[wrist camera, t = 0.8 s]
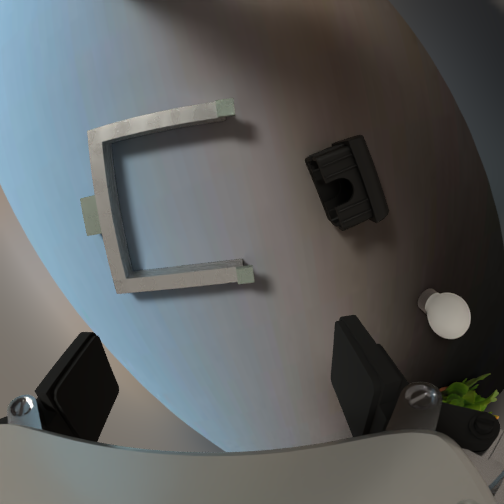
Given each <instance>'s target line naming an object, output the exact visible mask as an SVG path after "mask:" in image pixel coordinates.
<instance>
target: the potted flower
mask: <svg viewBox="0 0 504 504" xmlns="http://www.w3.org/2000/svg"><path fill="white" fill-rule="evenodd" d="M490 374H491V373H490ZM490 374H485V375H482V376H480V377H478V378H476V379H471V380H469V381H467V382H465V381H466V380H467V378H466V379H465V380H464V381H463V382H462V383H460V382H455V383H452V384H451V385H449V386H448V387H442V388H440V389H439V390H440V392H441V394H442V402H444V403H448V404H452V405H456V406H461V407H465V408H469V409H474V410H479V411H484V409H485V408H486V406H487V404H489V403H490V402H495V401H496V400H497V399H496V398H494V397H496V396H497V395H498V394H499V392H497V390H496V391H495V392H494V393H493V394H492V395H491V396H490V397H488V398H487V399H485V398H482V397H481V396H480V395H477V393H475V391H471V390H474V389H475V388H477V386H478V385H479V384H477V385H476V386H474V387H472V388H471V389H469V387H471V386H473V384H474V383H476V381H478V380H482V379H484V378H485V377H487V375H490ZM468 389H469V390H468ZM476 395H477V396H476ZM480 397H481V398H480ZM489 413H490V414H491V413H492V412H489ZM493 416H495V417H496V419H498V418H499V416H496V415H493Z"/></svg>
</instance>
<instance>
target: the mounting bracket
mask: <svg viewBox="0 0 504 504" xmlns="http://www.w3.org/2000/svg"><path fill="white" fill-rule="evenodd" d="M215 101H216V102H212V103H205V104H199V105H193V106H187V107H181V108H176V109H171V110H166V111H161V112H156V113H152V114H147V115H143V116H139V117H135V118H131V119H127V120H123V121H119V122H116V123H112V124H109V125H105V126H102V127H99V128H95V129H92V130H89V131H87V132H88V144H89V154H90V163H91V171H92V179H93V186H94V192H95V195H93V196H89V197H85V198H81V199H80V201H81V207H82V212H83V218H84V223H85V228H86V233H87V236H89V235H95V234H101V233H102V236H103V241H104V245H105V249H106V254H107V258H108V262H109V266H110V270H111V274H112V278H113V281H114V285H115V289H116V292H117V294H122V293H133V292H144V291H155V290H165V289H176V288H186V287H195V286H205V285H214V284H223V283H232V282H238V284H245V283H253V282H254V274H253V266H252V265H247V266H243V260H242V259H234V260H225V261H217V262H208V263H199V264H191V265H182V266H174V267H165V268H156V269H147V270H139V271H133V268H132V264H131V260H130V255H129V251H128V246H127V241H126V236H125V231H124V226H123V221H122V216H121V210H120V204H119V198H118V192H117V185H116V178H115V171H114V163H113V154H112V145H111V143H114V142H118V141H122V140H126V139H130V138H134V137H138V136H143V135H147V134H152V133H156V132H161V131H166V130H171V129H177V128H182V127H188V126H194V125H200V124H207V123H214V122H221V121H226V119H225V117H229V116H235V110H234V101H233V98H231V99H223V100H215Z"/></svg>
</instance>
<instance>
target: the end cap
mask: <svg viewBox="0 0 504 504" xmlns="http://www.w3.org/2000/svg"><path fill="white" fill-rule="evenodd" d="M331 145H332V147H330V148H327V149H324V150H322V151H319V152H317V153H314V154H312V155H309V157H307V158H306V159H305V163H306V165H307V167H308V170H309V172H310V175H311V177H312V180H313V182H314V184H315V187H316V189H317V192H318V194H319V197H320V200H321V202H322V205H323V207H324V210H325V212H326V215H327V218H328V219H329V220H330V221H331V222H332V224H333V225H334V226H339V229H341V230H342V231H344V230H346V229H348V228H351V227H353V226H355V225H357V224H359V223H362V222H364V221H366V220H368V219H369V220H371V221H373V222H375V223H377V222H379V221H381V220H382V219H384V218H385V217H386V216H387V215H388V213H389V210H388V206H387V203H386V199H385V196H384V193H383V190H382V187H381V184H380V181H379V178H378V175H377V172H376V169H375V166H374V163H373V161H372V158H371V155H370V153H369V150H368V147H367V145H366V142H365V140H364V137H363V136H362V135H357V136H354V137H350V138H347V139H344V140H341V141H338V142H335V143H333V144H331Z"/></svg>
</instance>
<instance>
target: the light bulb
mask: <svg viewBox="0 0 504 504" xmlns="http://www.w3.org/2000/svg"><path fill="white" fill-rule="evenodd" d="M418 307H419V308H420V309H421V310H422V311H423V312H425V313H426V314H427V318H428V322H429V324H430V326H431V328H432V329H433V331H434V332H435V333H436V334H438V335H439V336H441V337H443V338H446V339H455V338H458V337H460V336H462V335H463V334H464V333H465V332H466V331H467V329H468V327H469V325H470V320H471V315H470V310H469V308H468V305H467V304H466V302H465V301H464V300H463V299H462V298H461V297H459V296H458V295H456V294H453V293H441V294H440V293H438V292H436V291H435V290H434V289H427V290H425V291H424V292H423V293H422V294H421V296H420V297H419V300H418Z"/></svg>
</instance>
